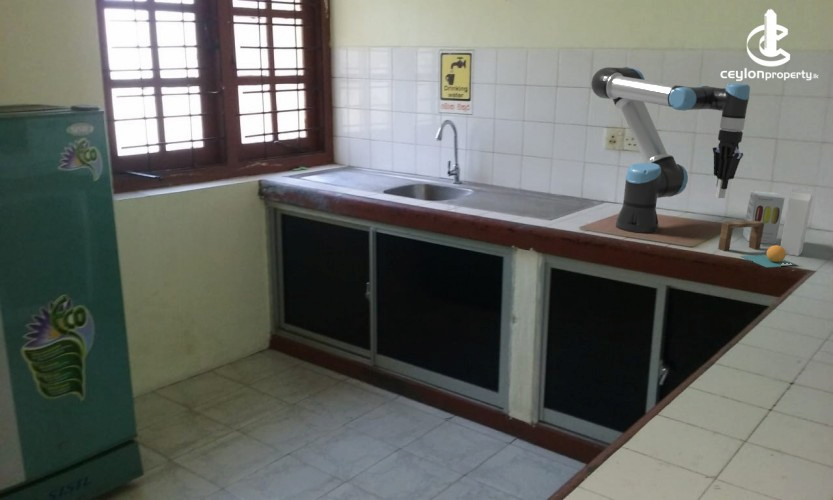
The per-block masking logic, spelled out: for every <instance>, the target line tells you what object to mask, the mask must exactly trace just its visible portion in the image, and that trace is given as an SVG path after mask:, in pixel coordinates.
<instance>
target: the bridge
mask: <svg viewBox="0 0 833 500" xmlns="http://www.w3.org/2000/svg"><path fill="white" fill-rule="evenodd" d="M744 227H752V231H751V237H750V242H748V248H751V249H753V250H760V248H761V244H762V243H761V239H762V233H763V228H764V223H763V222H760V221H744V220H743V221H722V223H721V229H720V236H719V242H718V247H717V249H718V250H721V251H723V252H729V251H730V247H731V242H732V235H733V229H735V228H744Z"/></svg>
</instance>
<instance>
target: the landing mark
mask: <svg viewBox="0 0 833 500" xmlns="http://www.w3.org/2000/svg"><path fill="white" fill-rule="evenodd" d="M740 257H741V258H743V259H745V258H746V259H745V260H748V259H749V260H748V261H750V260H751V261H750V262H752V261H753V263H755V264H757V265H760V266H762V267H765V268H782V267H781V266H783V265H781V264H782V263H784V264H786V263H788V264H790V263H791V264H792V265H797V264H796V263H793V262H791V261H788V260H786V259H785V258H784V259H783V260H782V261H781V262H772V261H770V260H769V259H768V257H767V253H765V254H754V255H753V254H751V255H740Z"/></svg>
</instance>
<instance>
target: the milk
mask: <svg viewBox="0 0 833 500" xmlns="http://www.w3.org/2000/svg"><path fill="white" fill-rule="evenodd" d="M812 202H813V189H808V188H801V187H792V190H791V194H790V196H789V198H788V203H787V210H786V214H785V220H784V225H783V230H782V236H781V240H780V241H781V242H780V245H779V246H781V247H782V248H784V250H785V252H786V255H790V256H796V257H799V256H800V255H801V254H802V252H803V249H804V243H805V239H806V234H807V227H808V223H809V217H810V212H811V207H812Z"/></svg>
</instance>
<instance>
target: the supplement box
mask: <svg viewBox="0 0 833 500" xmlns="http://www.w3.org/2000/svg"><path fill="white" fill-rule="evenodd" d="M747 204H748V205H747V210H746V216H745V221H760V222H763V223H764V228H763V233H762V239H761V244H769V245H777V239H778V234H779V229H780V224H781V220H782V219H781V218H782V214H783V209H784V204H785V197H784V196H783V195H781V194H780V193H778V192H772V191H771V192H769V191H756V190H750V194H749V199H748V203H747ZM751 231H752V227H743V231H742V236H743V237H744V239H745V240H747V242H748V243H749V242H750V237H751Z"/></svg>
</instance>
